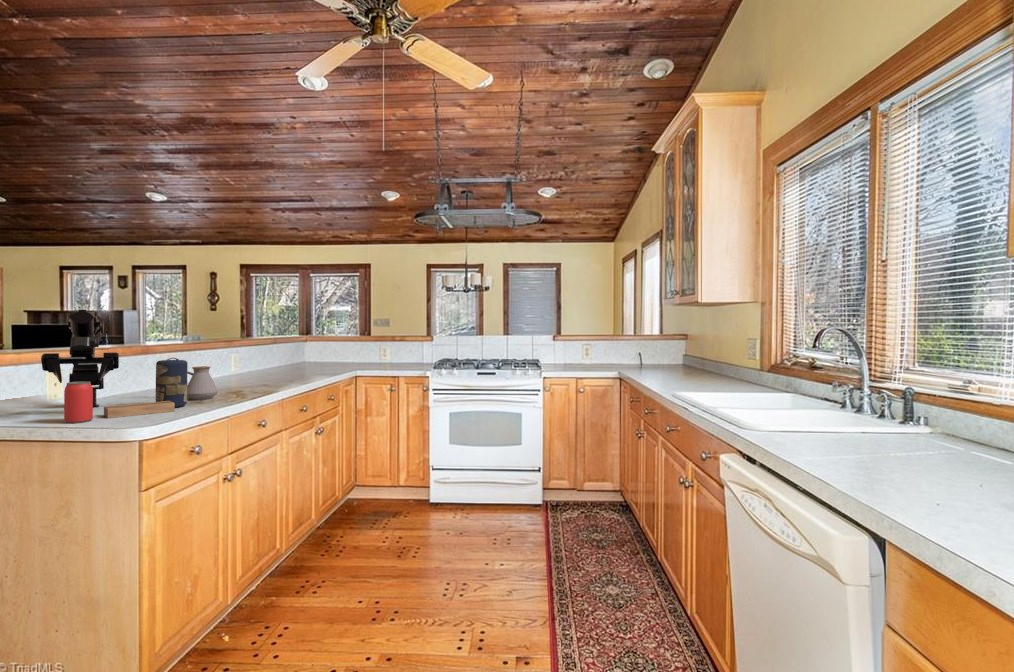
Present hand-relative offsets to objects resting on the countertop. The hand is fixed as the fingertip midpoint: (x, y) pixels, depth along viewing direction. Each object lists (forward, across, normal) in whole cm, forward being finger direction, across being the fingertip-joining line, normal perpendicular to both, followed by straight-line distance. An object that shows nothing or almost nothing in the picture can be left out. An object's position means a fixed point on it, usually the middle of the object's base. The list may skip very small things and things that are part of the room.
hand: (80, 381), depth 152 cm
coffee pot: (-12, +31, +29) cm, 44 cm away
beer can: (+12, 0, +4) cm, 13 cm away
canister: (+1, +24, +16) cm, 29 cm away
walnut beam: (+8, +15, +9) cm, 19 cm away
